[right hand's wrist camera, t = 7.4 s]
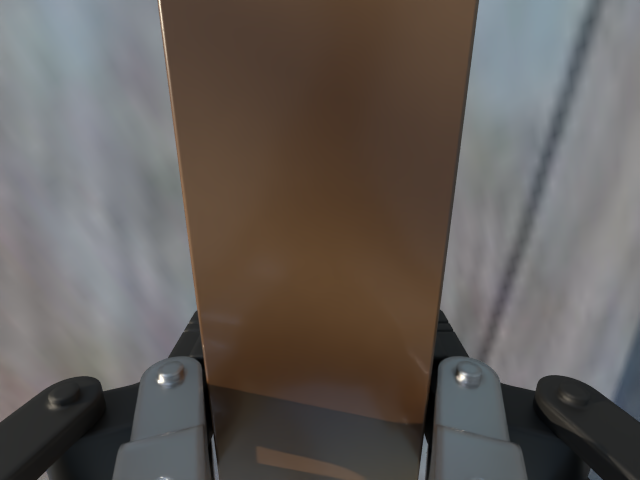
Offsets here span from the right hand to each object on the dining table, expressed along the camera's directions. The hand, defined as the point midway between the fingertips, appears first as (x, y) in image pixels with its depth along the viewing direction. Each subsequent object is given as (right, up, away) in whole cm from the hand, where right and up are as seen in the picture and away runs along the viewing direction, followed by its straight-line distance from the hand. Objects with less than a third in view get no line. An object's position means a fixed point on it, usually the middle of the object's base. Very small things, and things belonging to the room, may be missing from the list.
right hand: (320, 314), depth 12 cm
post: (0, -25, +11) cm, 28 cm away
